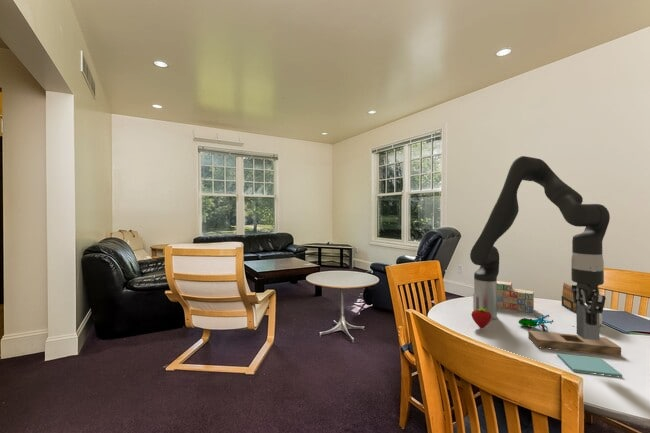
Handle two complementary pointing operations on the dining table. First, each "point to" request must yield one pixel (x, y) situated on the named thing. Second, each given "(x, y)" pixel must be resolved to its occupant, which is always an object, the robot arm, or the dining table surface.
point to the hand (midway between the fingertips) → (587, 321)
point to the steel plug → (582, 326)
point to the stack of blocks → (514, 297)
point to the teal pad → (588, 365)
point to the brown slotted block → (574, 343)
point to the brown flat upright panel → (568, 298)
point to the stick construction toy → (535, 322)
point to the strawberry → (481, 317)
